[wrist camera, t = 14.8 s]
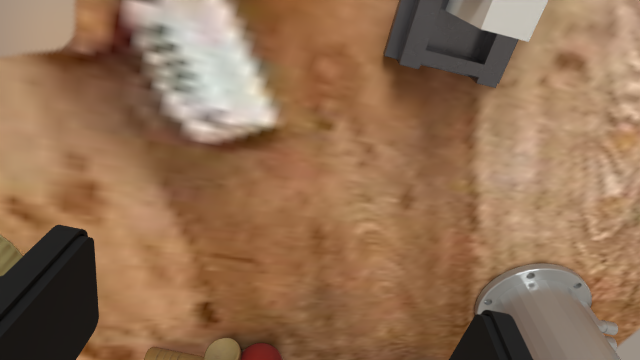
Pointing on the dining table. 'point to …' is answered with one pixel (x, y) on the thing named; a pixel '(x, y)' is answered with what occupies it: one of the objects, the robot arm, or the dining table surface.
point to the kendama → (220, 352)
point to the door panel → (500, 15)
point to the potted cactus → (8, 255)
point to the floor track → (446, 42)
